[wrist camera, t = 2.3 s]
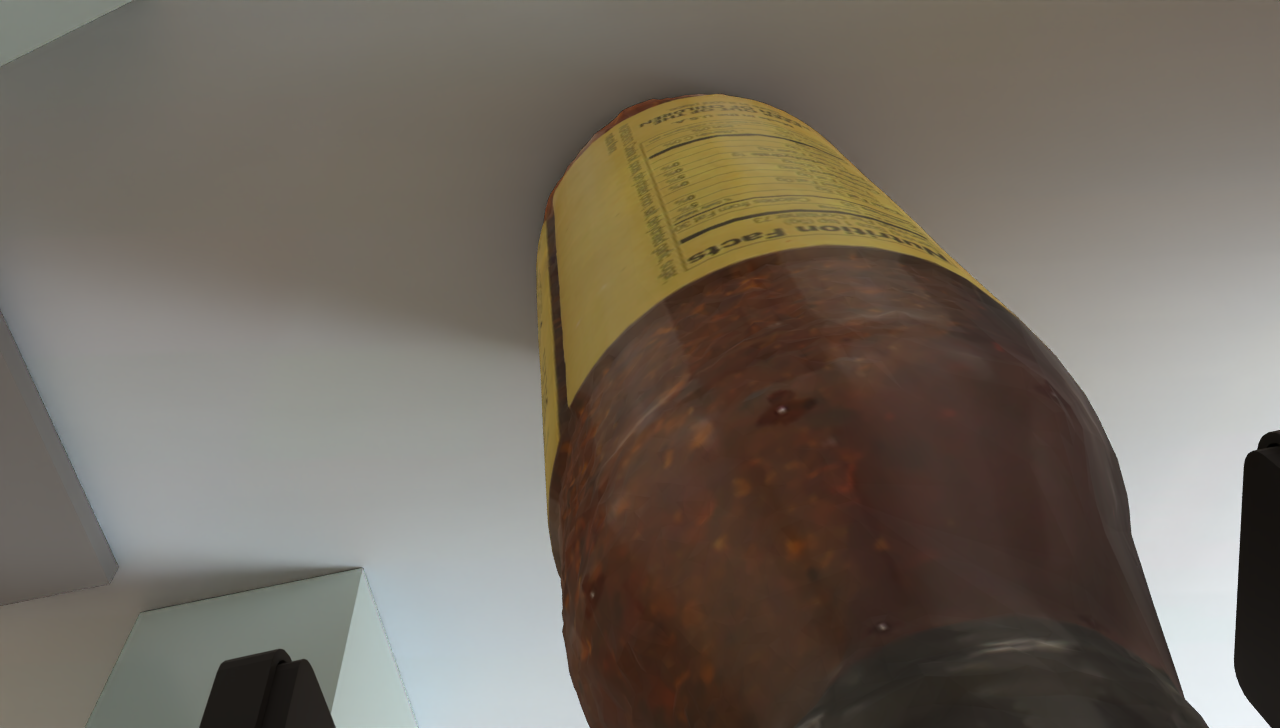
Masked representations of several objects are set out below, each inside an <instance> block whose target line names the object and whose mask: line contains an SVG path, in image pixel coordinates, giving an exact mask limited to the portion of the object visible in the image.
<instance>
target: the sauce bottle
mask: <svg viewBox="0 0 1280 728" xmlns="http://www.w3.org/2000/svg"><path fill="white" fill-rule="evenodd" d="M536 281H537V315H538V342H539V357H540V371H541V393H542V416H543V436H544V456H545V476H546V495H547V515H548V527H549V534H550V540H551V546H552V553H553V557H554V560H555V564H556V567H557V571H558V574H559V576H560V578H561V587H562V603H563V610H562V617H563V622H564V625H563V630H562V632H563V637H564V642H565V647H566V652H567V659H568V666H569V672H570V676H571V679H572V682H573V685H574V688H575V690H576V692H577V695H578V698H579V701H580V704H581V707H582V710H583V712H584V715H585V717H586V720H587V722H588V724H589V727H590V728H1209V727H1208V726H1207V724H1206V723H1205V721H1204V720H1203V718H1202V716H1201V715H1200V714H1199V713H1198V712H1197V711H1196V710H1195V709H1194V708H1193V707H1192V706H1191V705H1190V704H1189V703H1188V702H1187V701H1186V700H1185V698H1184V695H1183V691H1182V688H1181V685H1180V682H1179V679H1178V676H1177V673H1176V670H1175V667H1174V664H1173V661H1172V658H1171V655H1170V652H1169V649H1168V646H1167V643H1166V640H1165V637H1164V634H1163V631H1162V628H1161V625H1160V622H1159V619H1158V616H1157V613H1156V610H1155V607H1154V604H1153V601H1152V598H1151V595H1150V592H1149V589H1148V585H1147V582H1146V579H1145V576H1144V573H1143V570H1142V566H1141V563H1140V560H1139V557H1138V554H1137V551H1136V548H1135V544H1134V541H1133V538H1132V535H1131V525H1130V513H1129V505H1128V498H1127V492H1126V489H1125V485H1124V481H1123V478H1122V474H1121V470H1120V467H1119V463H1118V459H1117V457H1116V455H1115V453H1114V451H1113V448H1112V446H1111V444H1110V442H1109V440H1108V438H1107V435H1106V433H1105V431H1104V429H1103V427H1102V425H1101V422H1100V420H1099V418H1098V416H1097V415H1096V413H1095V411H1094V409H1093V407H1092V406H1091V404H1090V402H1089V400H1088V398H1087V397H1086V395H1085V394H1084V392H1083V391H1082V390H1081V388H1080V387H1079V386H1078V384H1077V383H1076V382H1075V380H1074V379H1073V378H1072V376H1071V375H1070V374H1069V373H1068V371H1067V370H1066V369H1065V367H1064V366H1063V365H1062V363H1061V362H1060V361H1059V359H1058V358H1057V357H1056V356H1055V355H1054V354H1053V353H1052V352H1051V351H1050V349H1049V348H1048V347H1047V346H1046V345H1045V344H1044V343H1043V342H1042V341H1041V340H1040V339H1039V338H1038V337H1037V336H1036V335H1035V334H1034V333H1033V332H1032V331H1031V330H1030V329H1029V328H1028V327H1027V326H1026V325H1025V324H1024V323H1023V322H1022V321H1021V320H1020V319H1019V318H1018V317H1017V316H1016V315H1014V314H1013V313H1012V312H1011V311H1010V310H1009V309H1007V308H1006V307H1005V306H1004V305H1003V304H1002V303H1001V302H1000V301H999V300H998V299H997V298H995V297H994V296H993V295H992V294H991V293H990V292H989V291H988V290H987V289H986V288H984V287H983V286H982V285H981V284H980V283H979V282H978V281H977V280H976V279H975V278H973V277H972V276H971V275H970V274H969V273H968V272H967V271H966V270H965V269H964V268H962V267H961V266H960V265H959V264H958V263H957V262H956V261H955V260H954V259H953V258H951V257H950V256H949V255H948V254H947V253H946V252H945V251H944V250H943V249H942V248H940V246H939V245H938V244H937V243H936V242H935V241H934V240H933V239H932V238H931V237H930V236H929V235H928V234H927V233H926V232H925V231H924V230H923V229H922V228H921V227H920V226H919V225H918V224H917V223H916V222H915V221H914V220H913V219H911V218H910V217H909V216H908V215H907V214H906V213H905V212H904V211H903V210H902V209H901V208H900V207H899V206H898V205H897V204H896V203H895V202H893V201H892V200H891V199H890V198H889V197H888V196H887V195H886V194H885V193H884V192H882V191H881V190H880V189H879V188H878V187H877V186H876V185H874V184H873V183H872V182H871V181H870V180H869V179H868V178H866V177H865V176H864V175H863V174H862V173H861V172H860V171H859V170H858V169H857V168H856V167H855V166H854V165H853V164H852V163H851V162H850V161H849V160H848V159H847V158H845V157H844V156H843V155H842V154H841V153H840V152H839V151H838V150H837V149H836V148H835V147H834V146H833V145H832V144H831V143H830V142H828V141H827V140H826V139H825V138H824V137H823V136H821V135H820V134H819V133H818V132H817V131H815V130H814V129H812V128H811V127H809V126H808V125H807V124H805V123H804V122H802V121H801V120H799V119H797V118H795V117H794V116H792V115H790V114H788V113H786V112H784V111H782V110H780V109H777V108H775V107H772V106H770V105H768V104H766V103H762V102H758V101H755V100H751V99H745V98H740V97H734V96H728V95H724V94H712V95H705V94H695V95H684V96H679V97H675V98H665V99H661V100H658V99H651V100H648V101H645V102H642V103H639V104H636V105H634V106H631V107H629V108H626V109H625V110H623V111H622V112H621V113H619V115H618V116H617V117H616V118H615V119H614V120H613V121H612V122H610V123H609V124H608V125H606V126H605V127H604V128H602V129H601V130H600V131H598V132H597V133H595V134H594V136H593V137H592V138H591V139H590V141H589V142H588V143H587V144H586V145H585V146H584V147H583V148H582V150H581V151H580V152H579V153H578V155H577V156H576V158H575V159H574V160H573V161H572V163H571V164H570V165H569V166H568V167H567V169H566V171H565V174H564V176H563V177H562V178H561V179H560V180H559V181H558V183H557V184H556V186H555V188H554V189H553V191H552V193H551V194H550V196H549V199H548V202H547V206H546V209H545V216H544V222H543V226H542V230H541V235H540V239H539V243H538V253H537V264H536Z"/></svg>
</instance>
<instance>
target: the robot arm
mask: <svg viewBox="0 0 1280 728" xmlns="http://www.w3.org/2000/svg"><path fill="white" fill-rule="evenodd" d="M1234 668H1235V672H1236V677H1237V679H1238V682H1239V685H1240V687H1241V689H1242V691H1243V693H1244V695H1245V696H1246V698H1247V699H1248V700H1249V702H1250V703H1251V704H1252V705H1253V706H1254V708H1255V709H1256V710H1257V711H1258V712H1259V714H1260V715H1261V716H1262V717H1263V718H1264V720H1265V721H1266V722H1267V723H1268V724H1269V725H1270V727H1271V728H1280V430H1277V431H1273V432H1269V433H1267V434H1265V435H1264V436H1262V438H1261V440H1260V442H1259V444H1258V449H1257V450H1255V451H1252V452H1250V453H1248V455H1247V457H1246V458H1245V463H1244V473H1243V493H1242V512H1241V532H1240V551H1239V571H1238V591H1237V610H1236V630H1235V649H1234ZM199 728H336V726H335V724H334V721H333V719H332V716H331V714H330V711H329V708H328V706H327V703H326V701H325V698H324V696H323V693H322V691H321V688H320V685H319V683H318V680H317V678H316V675H315V673H314V670H313V668H312V666H311V664H310V663H309V661H308V660H306V659H300V660H296V661H292V660H291V658H290V656H289V655H288V653H287V652H286V651H285V650H283V649H275V650H271V651H266V652H262V653H257V654H252V655H248V656H243V657H239V658H234V659H230V660H225V661H224V662H222V663H221V664H220V666H219V668H218V670H217V673H216V676H215V680H214V683H213V686H212V689H211V692H210V695H209V698H208V701H207V704H206V708H205V711H204V714H203V717H202V720H201V723H200V726H199Z"/></svg>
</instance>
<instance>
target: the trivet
mask: <svg viewBox="0 0 1280 728" xmlns="http://www.w3.org/2000/svg"><path fill="white" fill-rule="evenodd" d="M118 568H119V567H118V565H117V563H116V560H115V558H114V556H113V554H112V552H111V550H110V547H109V545H108V543H107V541H106V539H105V536H104V534H103V532H102V530H101V528H100V526H99V523H98V521H97V519H96V517H95V515H94V513H93V510H92V508H91V506H90V504H89V502H88V500H87V497H86V495H85V493H84V491H83V489H82V486H81V484H80V482H79V480H78V478H77V476H76V473H75V471H74V469H73V467H72V465H71V463H70V460H69V458H68V456H67V454H66V452H65V450H64V447H63V445H62V443H61V441H60V439H59V437H58V434H57V432H56V430H55V428H54V426H53V423H52V421H51V419H50V417H49V415H48V413H47V410H46V408H45V406H44V404H43V402H42V400H41V397H40V395H39V393H38V391H37V389H36V387H35V384H34V382H33V380H32V378H31V376H30V374H29V371H28V369H27V367H26V365H25V363H24V360H23V358H22V356H21V354H20V352H19V350H18V347H17V345H16V343H15V341H14V339H13V337H12V334H11V332H10V330H9V328H8V326H7V324H6V321H5V319H4V317H3V315H2V313H1V311H0V606H3V605H8V604H13V603H18V602H23V601H28V600H33V599H38V598H43V597H47V596H52V595H57V594H62V593H67V592H72V591H77V590H82V589H87V588H92V587H97V586H102V585H107V584H110V583H111V581H112V579H113V577H114V575H115V573H116V571H117V570H118Z"/></svg>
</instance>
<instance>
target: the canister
mask: <svg viewBox="0 0 1280 728" xmlns="http://www.w3.org/2000/svg"><path fill="white" fill-rule="evenodd" d="M131 1H133V0H0V67H1V66H3V65H5V64H7V63H9V62H11V61H13V60H15V59H17V58H19V57H21V56H23V55H25V54H27V53H29V52H31V51H33V50H35V49H37V48H39V47H41V46H43V45H45V44H47V43H49V42H51V41H53V40H55V39H57V38H59V37H61V36H63V35H65V34H67V33H69V32H71V31H73V30H75V29H77V28H79V27H81V26H83V25H85V24H87V23H89V22H91V21H93V20H95V19H97V18H99V17H101V16H103V15H105V14H107V13H109V12H111V11H113V10H115V9H117V8H119V7H121V6H123V5H125V4H127V3H129V2H131Z"/></svg>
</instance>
